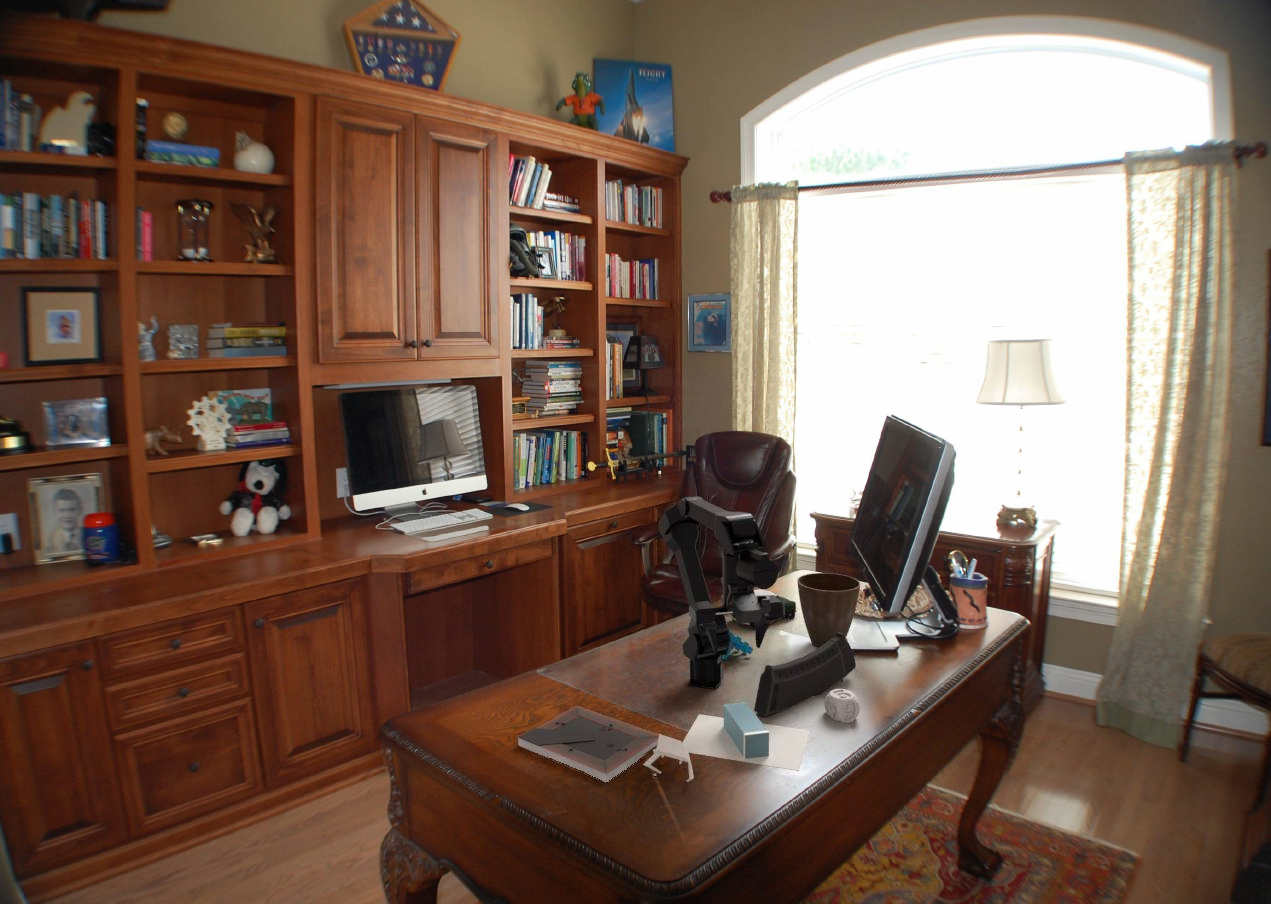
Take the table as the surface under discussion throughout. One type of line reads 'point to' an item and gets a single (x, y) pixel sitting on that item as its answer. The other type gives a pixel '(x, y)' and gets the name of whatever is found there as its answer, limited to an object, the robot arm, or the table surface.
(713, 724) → the cream rectangular board
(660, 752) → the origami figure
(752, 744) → the teal block
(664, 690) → the table surface
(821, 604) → the plant pot
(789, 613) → the miniature car
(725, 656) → the gear
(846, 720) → the die
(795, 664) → the magazine
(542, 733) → the picture frame
